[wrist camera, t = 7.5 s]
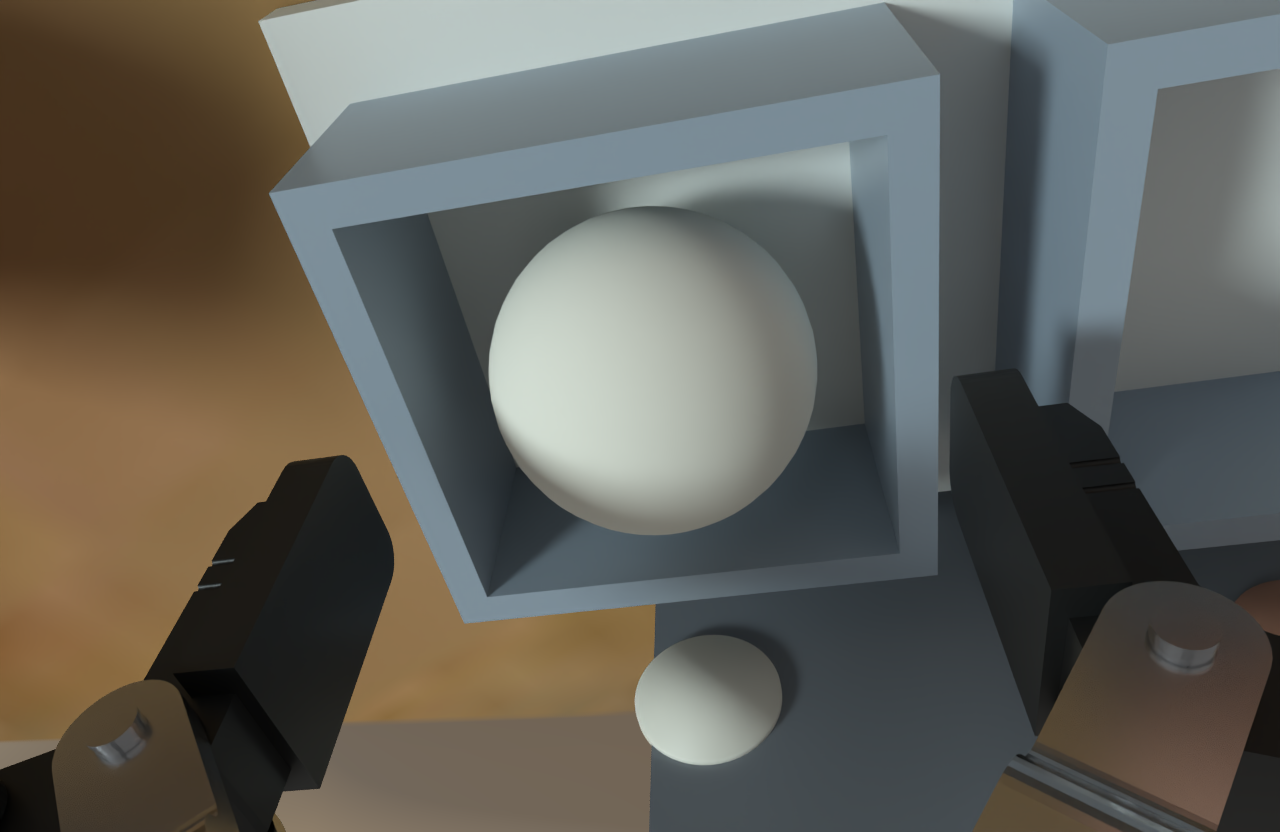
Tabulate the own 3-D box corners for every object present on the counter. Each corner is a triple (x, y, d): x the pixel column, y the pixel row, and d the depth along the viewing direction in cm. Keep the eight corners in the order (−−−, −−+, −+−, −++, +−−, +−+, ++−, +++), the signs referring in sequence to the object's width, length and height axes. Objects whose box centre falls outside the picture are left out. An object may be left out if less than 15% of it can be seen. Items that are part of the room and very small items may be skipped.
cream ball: (479, 182, 15) (405, 346, 11) (785, 130, 14) (826, 284, 10) (553, 422, 18) (516, 620, 14) (810, 388, 17) (849, 587, 13)
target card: (644, 509, 20) (626, 867, 14) (1254, 437, 18) (1559, 809, 12) (650, 533, 21) (636, 892, 14) (1246, 465, 19) (1537, 839, 12)
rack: (276, 7, 14) (147, 94, 11) (1757, -300, 11) (2226, -317, 8) (481, 519, 21) (440, 677, 17) (1460, 403, 18) (1647, 563, 14)
